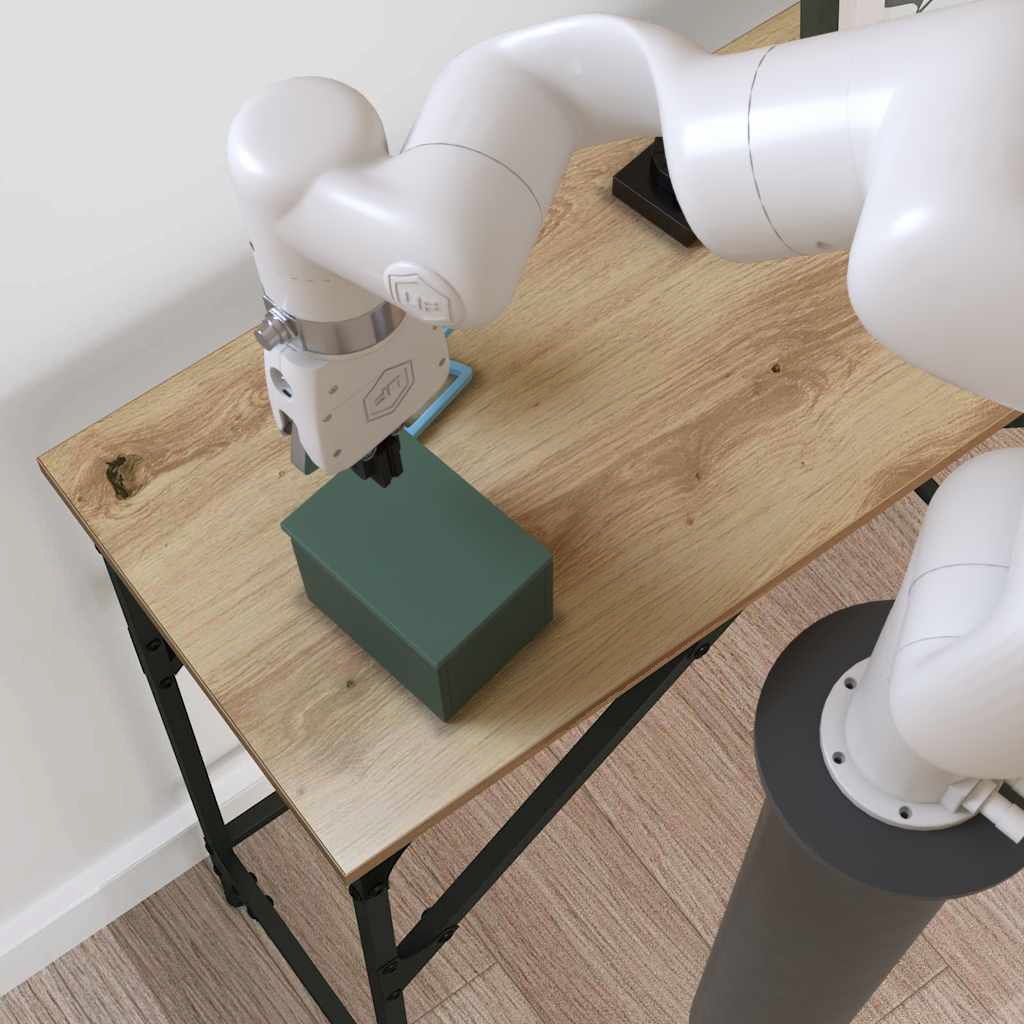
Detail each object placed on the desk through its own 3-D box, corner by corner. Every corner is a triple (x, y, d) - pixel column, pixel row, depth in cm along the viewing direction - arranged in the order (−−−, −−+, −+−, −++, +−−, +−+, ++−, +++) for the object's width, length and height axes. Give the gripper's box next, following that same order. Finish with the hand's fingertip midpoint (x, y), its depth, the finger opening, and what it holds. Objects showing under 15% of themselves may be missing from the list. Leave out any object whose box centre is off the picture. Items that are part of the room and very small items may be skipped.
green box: (307, 598, 113) (289, 539, 105) (415, 501, 116) (406, 437, 109) (445, 723, 108) (437, 671, 100) (553, 619, 112) (553, 560, 104)
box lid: (280, 528, 105) (278, 523, 104) (397, 427, 109) (396, 421, 108) (437, 670, 100) (436, 665, 100) (553, 560, 104) (554, 554, 103)
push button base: (768, 176, 130) (774, 142, 127) (686, 248, 127) (690, 215, 123) (692, 125, 133) (696, 90, 130) (611, 194, 130) (613, 160, 126)
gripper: (279, 416, 81) (330, 582, 97) (488, 240, 86) (503, 426, 102) (182, 333, 83) (247, 509, 99) (389, 168, 88) (420, 360, 104)
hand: (377, 467), depth 100 cm, fingers closed
